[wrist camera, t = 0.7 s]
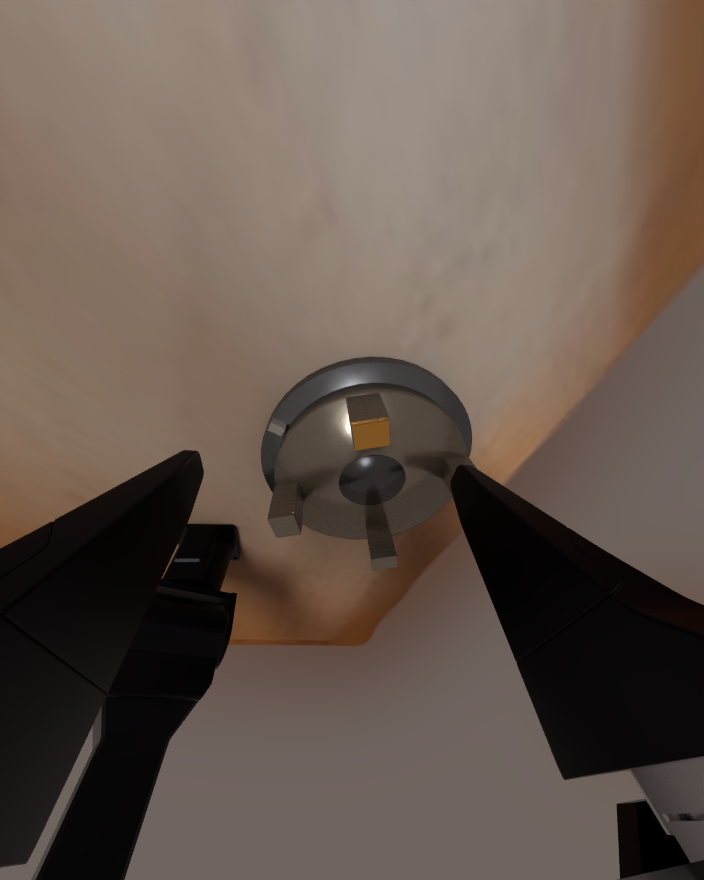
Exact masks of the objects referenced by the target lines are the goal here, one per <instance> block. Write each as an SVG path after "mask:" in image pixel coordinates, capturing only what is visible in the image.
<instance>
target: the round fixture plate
mask: <svg viewBox="0 0 704 880" xmlns="http://www.w3.org/2000/svg"><path fill="white" fill-rule="evenodd" d="M460 464H464V465H471V466H473V467H474V468H476V467H475V465H474V464H473V463H472V461H471V460H470V459H469V457H468V456H467V455H466V447H465V443H464V440H463V437H462V435H461V433H460V431H459V429H458V428H457V426H456V425H455V424H454V422H453V421H452V420H451V418H450V417H449V416H448V415H447V413H446V412H445V411H444V410H443V408H441V407H440V406H439V405H438V404H437V403H436V402H435V401H434V400H432V399H431V398H429V397H428V396H426V395H425V394H423V393H421V392H419V391H417V390H414V389H412V388H408V387H405V386H402V385H396V384H390V383H364V384H357V385H352V386H348V387H344V388H341V389H338V390H335V391H333V392H330V393H328V394H326V395H324V396H322V397H320V398H319V399H317V400H316V401H314V402H313V403H311V404H310V405H308V406H307V407H306V408H305V409H304V410H303V411H301V412H300V413H299V414H298V415H297V417H296V418H295V419H294V420H293V421H292V422H291V424H290V425H289V427H288V429H287V430H286V432H285V434H284V436H283V438H282V441H281V443H280V448H279V452H278V456H277V461H276V465H275V475H274V478H275V487H274V491H273V496H272V500H271V505H270V510H269V514H268V521H269V523H270V526H271V528H272V530H273V532H274V534H275V536H276V538H280V537H286V536H293V535H299V534H301V528H302V524H304V525H305V526H307V527H309V528H311V529H313V530H315V531H317V532H320V533H323V534H326V535H329V536H334V537H338V538H346V539H368V544H369V550H370V557H371V563H372V569H373V571H376V570H382V569H389V568H395V567H397V556H396V552H395V547H394V543H393V539H392V535H393V534H397V533H400V532H402V531H405V530H408V529H410V528H412V527H414V526H417V525H419V524H420V523H422V522H424V521H426V520H427V519H429V518H430V517H431V516H433V515H434V514H436V513H437V512H438V511H439V510H440V509H441V508H443V507H444V506H445V504H446V503H447V502H448V501H449V500H450V499H451V498H452V497H453V494H452V491H451V487H450V482H451V479H452V477H453V474H454V472H455V470H456V468H457V466H458V465H460ZM476 469H477V468H476ZM453 499H454V498H453Z"/></svg>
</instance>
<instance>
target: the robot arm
mask: <svg viewBox="0 0 704 880" xmlns="http://www.w3.org/2000/svg"><path fill="white" fill-rule="evenodd" d="M203 475H204V470H203V466H202V462H201V457H200V454H199V452H198V451H191V450H184V451H181V452H179V453H178V454H176V455H174V456H172V457H170V458H168V459H166V460H165V461H163V462H161V463H159V464H157V465H155V466H153V467H152V468H150V469H148V470H146V471H144V472H142V473H140V474H139V475H137V476H135V477H133V478H131V479H129V480H128V481H126V482H124V483H122V484H120V485H118V486H116V487H115V488H113V489H111V490H109V491H107V492H105V493H103V494H102V495H100V496H98V497H96V498H94V499H92V500H90V501H89V502H87V503H85V504H83V505H81V506H79V507H77V508H76V509H74V510H72V511H70V512H68V513H66V514H64V515H63V516H61V517H59V518H57V519H55V521H54V522H49V523H48V524H46V525H44V526H42V527H40V528H38V529H37V530H35V531H33V532H31V533H29V534H27V535H25V536H23V537H21V538H20V539H18V540H16V541H14V542H12V543H10V544H8V545H6V546H4V547H2V548H0V868H2V867H8V866H15V865H21V864H26V863H27V862H28V860H29V858H30V856H31V854H32V852H33V850H34V848H35V846H36V844H37V842H38V840H39V838H40V836H41V834H42V832H43V830H44V828H45V825H46V823H47V821H48V819H49V817H50V815H51V812H52V810H53V808H54V806H55V804H56V802H57V800H58V798H59V796H60V793H61V791H62V789H63V787H64V785H65V783H66V781H67V779H68V776H69V774H70V772H71V770H72V768H73V766H74V764H75V762H76V759H77V757H78V755H79V753H80V751H81V748H82V747H83V745H84V742H85V740H86V738H87V736H88V734H89V732H90V730H91V728H92V725H93V750H92V752H91V755H90V757H89V759H88V761H87V763H86V765H85V767H84V769H83V772H82V774H81V776H80V778H79V780H78V782H77V784H76V786H75V789H74V791H73V793H72V795H71V797H70V799H69V801H68V803H67V806H66V808H65V810H64V812H63V814H62V816H61V818H60V821H59V823H58V825H57V827H56V829H55V831H54V833H53V835H52V837H51V839H50V842H49V844H48V846H47V848H46V850H45V852H44V854H43V856H42V859H41V861H40V863H39V865H38V867H37V869H36V871H35V873H34V876H33V878H32V880H124V879H125V876H126V873H127V869H128V867H129V863H130V860H131V857H132V854H133V851H134V848H135V845H136V842H137V839H138V836H139V833H140V829H141V826H142V823H143V820H144V817H145V814H146V811H147V808H148V805H149V801H150V798H151V795H152V792H153V789H154V786H155V783H156V780H157V777H158V773H159V770H160V768H161V764H162V761H163V758H164V755H165V752H166V749H167V746H168V743H169V741H170V739H171V737H172V736H173V734H174V733H175V732H176V730H177V729H178V728H179V726H180V725H181V724H182V722H183V721H184V720H185V718H186V717H187V716H188V714H189V713H190V712H191V710H192V709H193V707H194V706H195V705H196V703H197V702H198V701H199V700H200V699H201V698H202V697H203V695H204V694H205V693H206V691H207V689H208V688H209V687H210V685H211V683H212V680H213V676H214V671H215V669H217V668H218V666H219V665H220V663H221V661H222V659H223V657H224V654H225V652H226V649H227V646H228V643H229V640H230V636H231V631H232V624H233V618H234V611H235V604H236V597H237V593H227V592H222V591H220V590H221V587H222V584H223V580H224V577H225V574H226V571H227V568H228V564H229V561H230V560H239V558H240V550H239V545H238V539H237V534H236V528H235V526H233V525H194V524H187V523H188V520H189V518H190V515H191V512H192V510H193V506H194V503H195V500H196V497H197V494H198V491H199V488H200V485H201V482H202V479H203ZM450 487H451V491H452V494H453V498H454V501H455V505H456V508H457V512H458V516H459V519H460V522H461V525H462V528H463V530H464V533H465V535H466V538H467V540H468V543H469V545H470V548H471V550H472V553H473V555H474V558H475V560H476V563H477V565H478V568H479V570H480V573H481V575H482V577H483V580H484V583H485V585H486V588H487V590H488V593H489V595H490V598H491V600H492V603H493V605H494V608H495V610H496V612H497V615H498V618H499V620H500V623H501V625H502V628H503V630H504V633H505V635H506V638H507V640H508V643H509V645H510V648H511V650H512V652H513V655H514V658H515V660H516V662H517V666H518V668H519V671H520V673H521V676H522V678H523V681H524V683H525V686H526V688H527V691H528V693H529V696H530V698H531V701H532V703H533V706H534V708H535V711H536V713H537V716H538V718H539V721H540V723H541V726H542V728H543V731H544V733H545V736H546V738H547V741H548V744H549V746H550V748H551V751H552V754H553V756H554V759H555V761H556V764H557V766H558V768H559V771H560V773H561V775H562V777H563V779H564V780H569V779H575V778H581V777H588V776H594V775H601V774H606V773H613V772H620V771H627V770H628V771H629V772H630V774H631V776H632V777H633V779H634V781H635V783H636V784H637V786H638V788H639V789H640V791H641V793H642V794H643V796H644V797H645V799H641V800H636V801H630V802H624V803H619V804H617V822H618V841H619V864H620V879H619V880H704V605H702V604H700V603H697V602H695V601H693V600H691V599H688V598H686V597H684V596H682V595H680V594H678V593H677V592H675V591H673V590H671V589H670V588H668V587H666V586H665V585H662V584H661V583H660V582H657V581H656V580H654V579H653V578H651V577H649V576H647V575H646V574H644V573H642V572H641V571H639V570H637V569H635V568H634V567H632V566H630V565H628V564H627V563H625V562H623V561H622V560H620V559H618V558H617V557H615V556H613V555H612V554H610V553H608V552H606V551H605V550H603V549H601V548H600V547H598V546H597V545H595V544H593V543H592V542H590V541H588V540H587V539H585V538H584V537H582V536H581V535H579V534H577V533H576V532H574V531H573V530H571V529H569V528H567V527H566V526H565V525H563V524H562V523H560V522H559V521H557V520H556V519H554V518H552V517H551V516H549V515H548V514H546V513H545V512H543V511H541V510H540V509H538V508H537V507H535V506H534V505H532V504H531V503H529V502H527V501H526V500H524V499H522V498H521V497H520V496H518V495H516V494H515V493H513V492H512V491H510V490H509V489H507V488H506V487H504V486H502V485H501V484H499V483H498V482H496V481H495V480H493V479H491V478H490V477H488V476H487V475H485V474H484V473H482V472H481V471H479V470H477V469H476V468H474V467H473V466H471V465H464V464H460V465H458V466H457V468H456V470H455V472H454V474H453V477H452V479H451V482H450ZM177 544H179V547H178V549H177V551H176V553H175V555H174V557H173V559H172V561H171V563H170V565H169V567H168V569H167V571H166V573H165V575H164V577H163V579H161V578H162V576H163V574H164V572H165V570H166V568H167V565H168V563H169V561H170V559H171V557H172V555H173V553H174V551H175V548H176V546H177Z"/></svg>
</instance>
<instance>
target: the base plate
mask: <svg viewBox="0 0 704 880" xmlns="http://www.w3.org/2000/svg"><path fill="white" fill-rule="evenodd" d="M364 383H390V384H396V385H402V386H405V387H408V388H412V389H414V390H417V391H419V392H421V393H423V394H425V395H426V396H428V397H429V398H431V399H432V400H434V401H435V402H436V403H437V404H438V405H439V406H440V407H441V408H443V410H444V411H445V412H446V413H447V415H448V416H449V417H450V418H451V420H452V421H453V422H454V424H455V425H456V426H457V428H458V429H459V431H460V433H461V435H462V437H463V440H464V443H465V447H466V455H467V456H468V457H469V456H470V452H471V445H472V431H471V425H470V421H469V417H468V414H467V412H466V410H465V408H464V406H463V404H462V403H461V401H460V400H459V398H458V397H457V395H456V394H455V393H454V392H453V391H452V390H451V389H450V388H449V387H448V386H447V385H446V384H445V383H444V382H443V381H442V380H441V379H439V378H438V377H437V376H435V375H434V374H433V373H431V372H430V371H428V370H426V369H424V368H422V367H420V366H418V365H415V364H412V363H409V362H406V361H403V360H398V359H393V358H386V357H364V358H354V359H350V360H345V361H341V362H337V363H335V364H332V365H329V366H326V367H324V368H322V369H320V370H318V371H316V372H314V373H312V374H310V375H308V376H307V377H306V378H304V379H303V380H301V381H300V382H299V383H297V384H296V385H295V386H294V387H293V388H292V389H291V390H290V391H289V392H288V393H286V394H285V396H284V397H283V398H282V400H281V401H280V402H279V403H278V405H277V406H276V408H275V410H274V412H273V413H272V415H271V417H270V420H269V423H268V425H267V428H266V431H265V434H264V437H263V442H262V447H261V463H262V469H263V473H264V476H265V479H266V482H267V484H268V485H269V487H270V489H271V491H272V492H273V491H274V487H275V478H274V475H275V465H276V461H277V456H278V452H279V448H280V443H281V441H282V438H283V436H284V434H285V432H286V430H287V429H288V427H289V425H290V424H291V422H292V421H293V420H294V419H295V418H296V417H297V415H298V414H299V413H300V412H301V411H303V410H304V409H305V408H306V407H307V406H308V405H310V404H311V403H313V402H314V401H316V400H317V399H319V398H320V397H322V396H324V395H326V394H328V393H330V392H333V391H335V390H338V389H341V388H344V387H348V386H352V385H357V384H364Z"/></svg>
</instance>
